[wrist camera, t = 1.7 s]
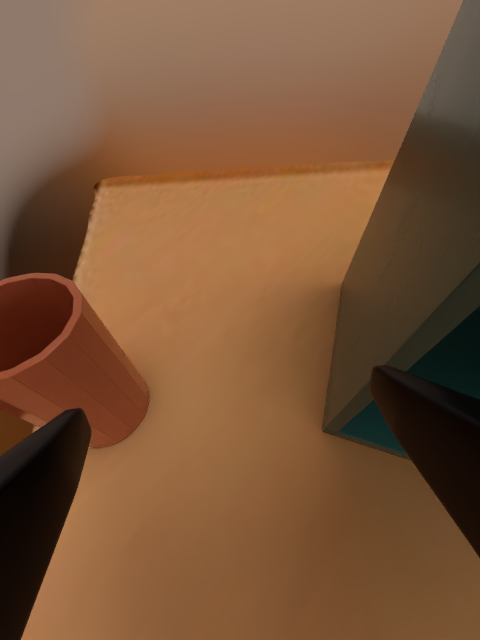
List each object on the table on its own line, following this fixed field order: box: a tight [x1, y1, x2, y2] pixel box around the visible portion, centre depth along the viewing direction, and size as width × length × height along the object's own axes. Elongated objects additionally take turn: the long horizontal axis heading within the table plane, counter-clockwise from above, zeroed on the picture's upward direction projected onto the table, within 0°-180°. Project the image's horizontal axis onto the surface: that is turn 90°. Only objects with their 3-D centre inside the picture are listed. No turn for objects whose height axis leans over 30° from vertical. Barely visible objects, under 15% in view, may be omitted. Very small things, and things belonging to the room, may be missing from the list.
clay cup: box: [0, 273, 149, 448], centre depth 18 cm, size 7×7×12 cm
